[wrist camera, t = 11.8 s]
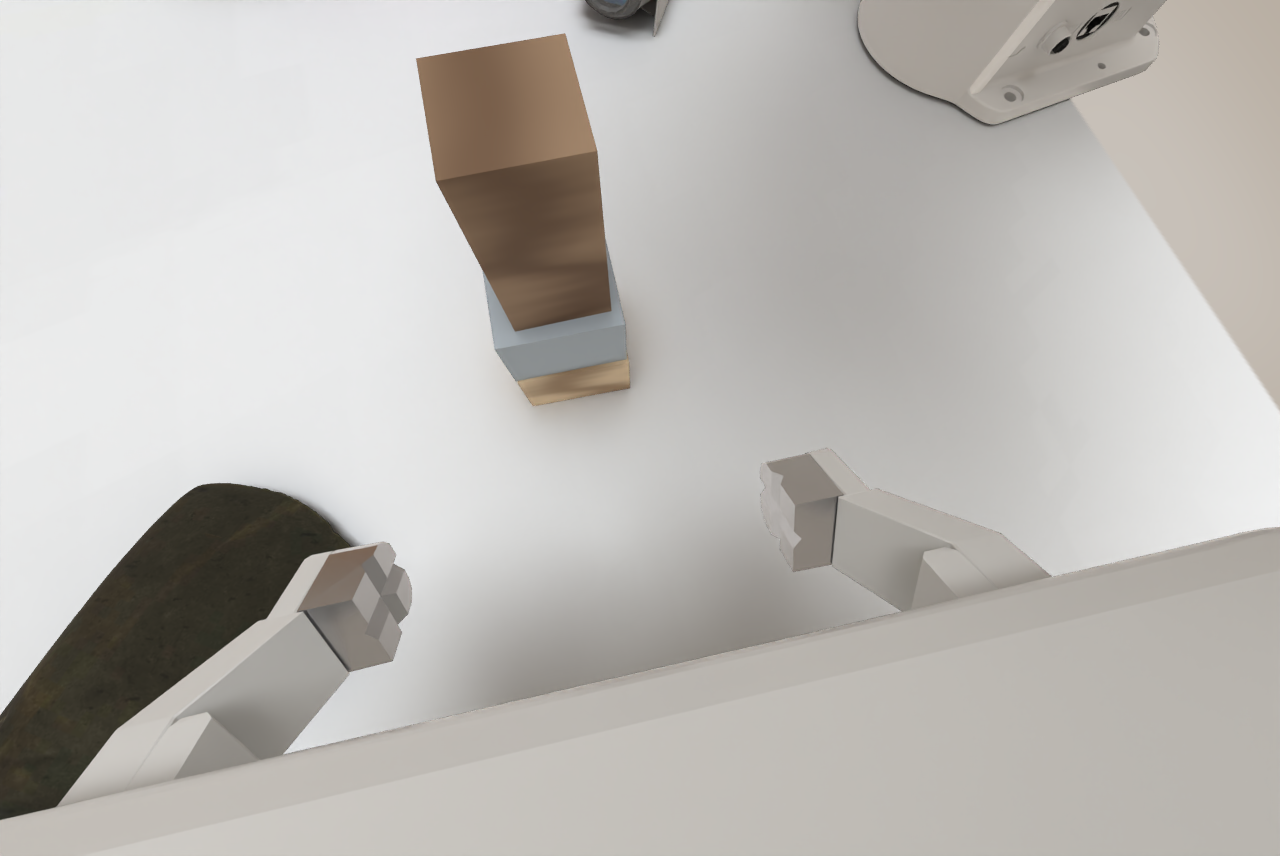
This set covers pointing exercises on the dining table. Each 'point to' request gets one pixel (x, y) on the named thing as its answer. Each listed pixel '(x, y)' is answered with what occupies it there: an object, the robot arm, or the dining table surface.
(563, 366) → the slate block
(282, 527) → the stone tool
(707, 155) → the dining table surface
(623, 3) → the security camera
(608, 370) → the oak block
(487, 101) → the walnut pillar
